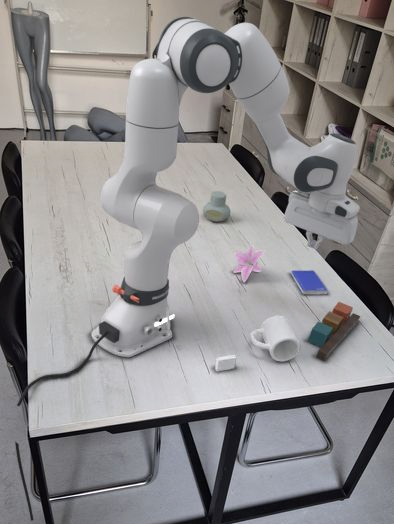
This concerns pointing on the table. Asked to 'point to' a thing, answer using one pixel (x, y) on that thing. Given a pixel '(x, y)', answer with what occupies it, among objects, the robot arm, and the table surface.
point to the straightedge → (338, 337)
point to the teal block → (320, 334)
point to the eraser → (225, 363)
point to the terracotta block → (342, 311)
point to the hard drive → (309, 282)
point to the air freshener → (217, 207)
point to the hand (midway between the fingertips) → (312, 247)
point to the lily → (248, 262)
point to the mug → (277, 338)
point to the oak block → (333, 321)
